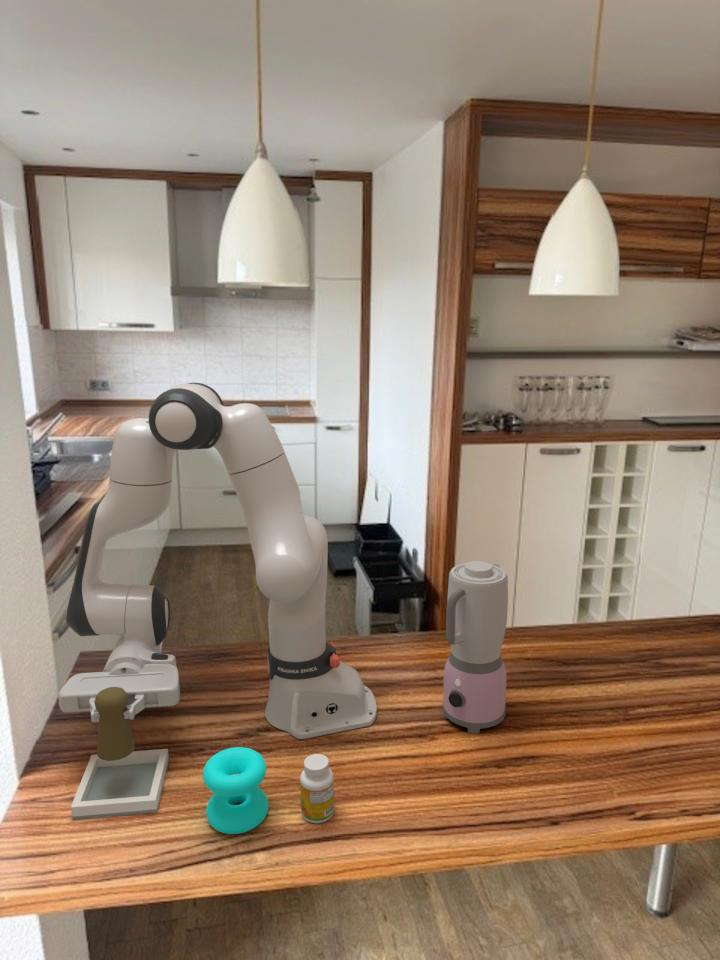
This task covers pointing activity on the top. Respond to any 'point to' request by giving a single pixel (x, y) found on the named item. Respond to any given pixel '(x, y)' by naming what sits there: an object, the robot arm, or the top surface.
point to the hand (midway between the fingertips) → (112, 717)
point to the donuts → (235, 790)
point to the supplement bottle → (317, 789)
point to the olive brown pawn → (113, 725)
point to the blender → (476, 645)
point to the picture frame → (121, 785)
